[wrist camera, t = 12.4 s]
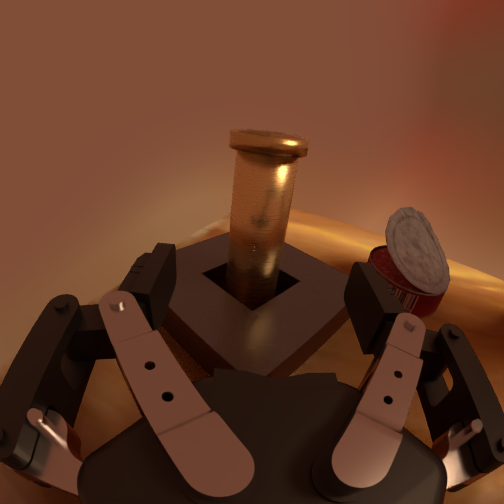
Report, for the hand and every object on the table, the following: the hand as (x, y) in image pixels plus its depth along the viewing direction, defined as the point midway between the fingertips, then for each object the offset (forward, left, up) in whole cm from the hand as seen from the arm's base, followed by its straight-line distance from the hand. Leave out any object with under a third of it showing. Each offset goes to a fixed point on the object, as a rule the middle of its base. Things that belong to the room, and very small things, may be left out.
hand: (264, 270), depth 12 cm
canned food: (-21, +4, -9) cm, 23 cm away
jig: (-6, -5, -9) cm, 12 cm away
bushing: (-6, -5, -9) cm, 12 cm away
